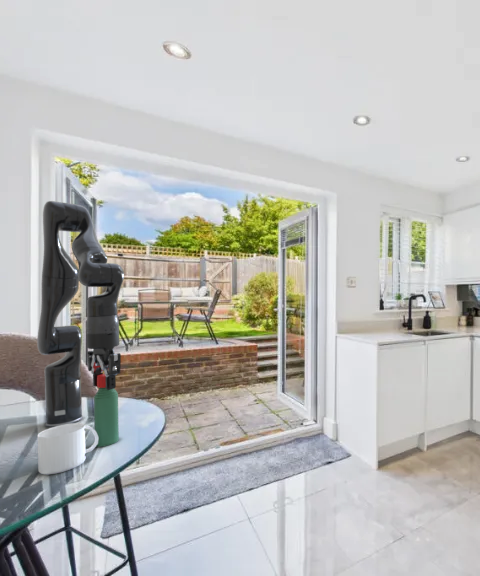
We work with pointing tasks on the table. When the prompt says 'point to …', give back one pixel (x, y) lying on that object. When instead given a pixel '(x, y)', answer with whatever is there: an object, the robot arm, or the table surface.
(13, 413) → the table surface
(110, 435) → the bottle
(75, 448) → the mug
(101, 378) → the cap
